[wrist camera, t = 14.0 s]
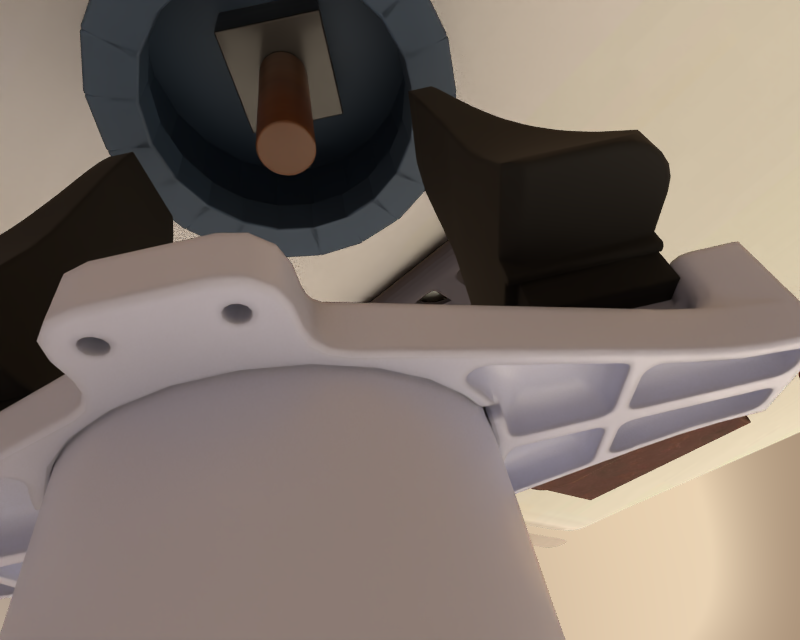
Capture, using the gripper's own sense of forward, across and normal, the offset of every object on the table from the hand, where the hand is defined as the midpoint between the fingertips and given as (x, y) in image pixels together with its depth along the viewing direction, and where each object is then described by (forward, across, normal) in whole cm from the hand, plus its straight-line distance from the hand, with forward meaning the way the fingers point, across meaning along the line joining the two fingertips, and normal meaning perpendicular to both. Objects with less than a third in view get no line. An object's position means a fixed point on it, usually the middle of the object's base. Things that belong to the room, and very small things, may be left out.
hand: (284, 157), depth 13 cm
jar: (+8, 0, 0) cm, 8 cm away
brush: (+7, 0, 0) cm, 7 cm away
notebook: (+8, -23, +44) cm, 50 cm away
